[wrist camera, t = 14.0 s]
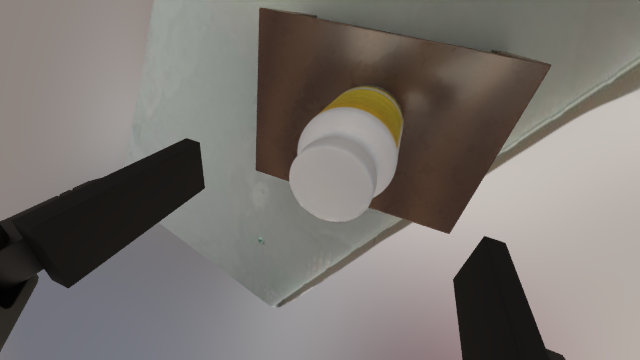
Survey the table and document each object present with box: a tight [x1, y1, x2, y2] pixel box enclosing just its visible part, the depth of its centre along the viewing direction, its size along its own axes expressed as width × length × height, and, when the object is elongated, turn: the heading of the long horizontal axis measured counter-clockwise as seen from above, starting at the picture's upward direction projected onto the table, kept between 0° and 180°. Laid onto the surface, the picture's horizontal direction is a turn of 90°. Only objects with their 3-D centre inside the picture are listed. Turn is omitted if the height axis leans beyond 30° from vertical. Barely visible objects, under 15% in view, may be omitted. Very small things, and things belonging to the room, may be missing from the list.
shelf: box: [256, 8, 551, 234], centre depth 28 cm, size 22×16×10 cm
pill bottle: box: [289, 85, 404, 222], centre depth 18 cm, size 6×6×12 cm
